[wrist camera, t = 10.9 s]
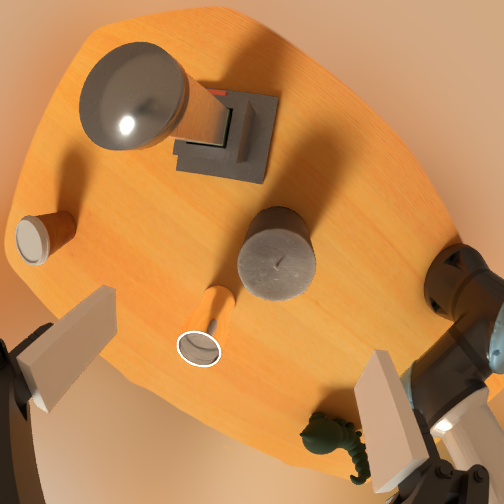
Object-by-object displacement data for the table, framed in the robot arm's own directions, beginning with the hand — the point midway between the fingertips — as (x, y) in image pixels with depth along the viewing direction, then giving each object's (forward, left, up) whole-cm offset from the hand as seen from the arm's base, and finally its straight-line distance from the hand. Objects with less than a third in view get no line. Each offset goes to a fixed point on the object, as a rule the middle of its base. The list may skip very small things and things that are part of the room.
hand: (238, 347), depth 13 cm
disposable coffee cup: (+41, +10, -35) cm, 55 cm away
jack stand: (+9, -11, -35) cm, 38 cm away
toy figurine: (-27, +49, -35) cm, 66 cm away
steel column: (+9, -11, -27) cm, 30 cm away
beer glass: (+6, +18, -35) cm, 40 cm away
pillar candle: (-2, +4, -35) cm, 36 cm away
